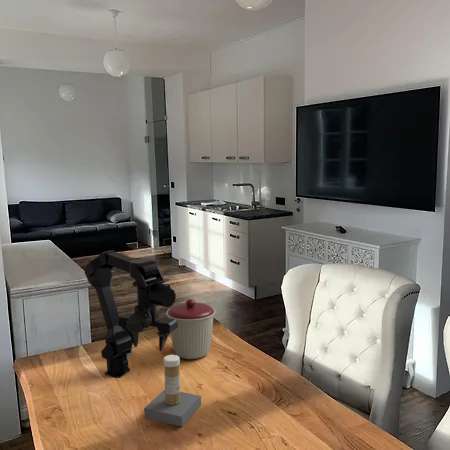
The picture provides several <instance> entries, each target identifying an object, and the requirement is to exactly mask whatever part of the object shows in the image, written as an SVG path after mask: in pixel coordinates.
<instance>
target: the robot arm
mask: <svg viewBox="0 0 450 450" xmlns="http://www.w3.org/2000/svg"><path fill="white" fill-rule="evenodd" d="M115 268H116V269H118V270H121V271H123V272H126V273H128V274H129V276H130V278H131V279H133V280H134V281H133V282H132V286H134V287H136V305H135V306H134V311H133V313H131V312H126V313H124V314H122V315H121V316H120V314H119V311H118V307H117V304H116V301H115V297H114V295H113V294H114V293H113V291H112V290H113V289H112V287H111V282H112V277H113V274H112V271H113V269H115ZM84 274H85V276H86V279H87V282H88V283H89V285H91V287H93V288H94V289H95V291H96V296H97V298H98V302H99V306H100V308H101V309H100V310H101V312H102V316H103V320H104V323H105V325H106V334H105V338H104V341H105V346H104V347H103V348H102V350H101V351H100V353H101V358H103V359H104V360H106V371H105V372H104V375H105V376H110V377H114V378H122V377H123V376H124V375H125V374H127V373H128V372H130V371H131V368H130V367H129V359H128V357H127V355H126V354H128V353H131V349H132V350H133V346H134V348H137V347H138V344H139V333H142V332H143V331H144V329H148V328H149V327H153V328H157V331H158V332H157V333H156V334H157V335H158V338H159V339H158V341H159V343H158V347H159V352H162V351H163V349H164V347H165V345H166V342H167V339H168V337H169V335H171V332H172V331H174V330H175V329H176V328H178V322H177V321H176V319H170V318H168V317H165V318H164V319H162V320H158V319H159V318H160V317H159V314H157V307H158V306H159V307H164V308H168V309H169V308H172V307H173V306H174V305H175V302H176V296H177V295H176V292H175V290H174V289H173V288H171V284H169V283H166V280H165V278H164V275H163V274H162V271H161V270H160V268H159V266H158V265H157V262H156V261H155V260H153V259H136V258H134V257H130V256H127V255H126V254H122V253H120V252H118V251H116V250H108V251H103V252H101V253H100V254H99V255H98V256H97V257H95V258H94V259H92V260H91V261H90V262H89V263H87V264H86V265H85V267H84Z"/></svg>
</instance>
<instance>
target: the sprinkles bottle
mask: <svg viewBox="0 0 450 450" xmlns="http://www.w3.org/2000/svg"><path fill="white" fill-rule="evenodd" d="M180 362H181V359H180V357H179V356H177V355H176V354H169V355H165V357H163V366H164V389H165V402H166V404H169V405H176V404H178V403H179V402H180V401H181V399H180V392H181V373H180V364H181V363H180Z"/></svg>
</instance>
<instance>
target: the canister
mask: <svg viewBox="0 0 450 450" xmlns="http://www.w3.org/2000/svg"><path fill="white" fill-rule="evenodd" d="M165 314H166V316H167V318H170V319H176V321H177V322H178V328H176V329H175V330H174V331H172V332H171V333H170V338H171V344H172V349H173V352H174V355H177V356H179V358H181V359H185V360H196V359H201V358H203V357H205V356H207V355H208V353H209V352H210V350H211V344H212V337H213V325H214V316H215V314H216V309H215V308H214V307H213V306H211V305H209V304H206V303H202V302H196V300H195V299H194V298H188V299H187V300H186V301H185V302H183V303H178V304H174V305H172V306H171V307H169V308H168V309H167V311H166V313H165Z"/></svg>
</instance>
